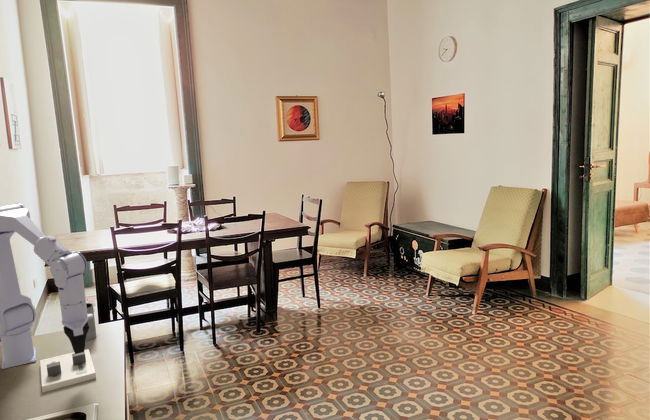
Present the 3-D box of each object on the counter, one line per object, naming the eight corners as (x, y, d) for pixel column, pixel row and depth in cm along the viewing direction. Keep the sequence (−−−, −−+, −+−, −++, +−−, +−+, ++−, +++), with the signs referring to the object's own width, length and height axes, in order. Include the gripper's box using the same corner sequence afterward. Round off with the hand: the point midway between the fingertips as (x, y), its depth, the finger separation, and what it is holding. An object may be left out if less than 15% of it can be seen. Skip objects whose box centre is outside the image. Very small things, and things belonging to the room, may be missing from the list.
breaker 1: (47, 373, 124) (46, 364, 124) (60, 370, 126) (59, 361, 125) (48, 376, 122) (46, 367, 122) (61, 373, 124) (60, 364, 123)
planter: (90, 341, 146) (86, 309, 144) (76, 340, 147) (72, 308, 145) (99, 334, 150) (96, 303, 149) (86, 333, 151) (83, 302, 150)
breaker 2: (72, 362, 130) (71, 353, 129) (85, 359, 131) (84, 350, 131) (73, 365, 128) (72, 356, 127) (86, 362, 129) (85, 353, 129)
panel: (40, 365, 132) (40, 359, 132) (89, 353, 138) (88, 348, 138) (42, 392, 119) (41, 386, 118) (96, 378, 125) (95, 372, 124)
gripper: (94, 306, 117) (100, 358, 119) (87, 290, 129) (93, 337, 132) (61, 313, 113) (68, 367, 116) (57, 295, 126) (64, 344, 128)
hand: (79, 352), depth 123 cm, fingers closed
